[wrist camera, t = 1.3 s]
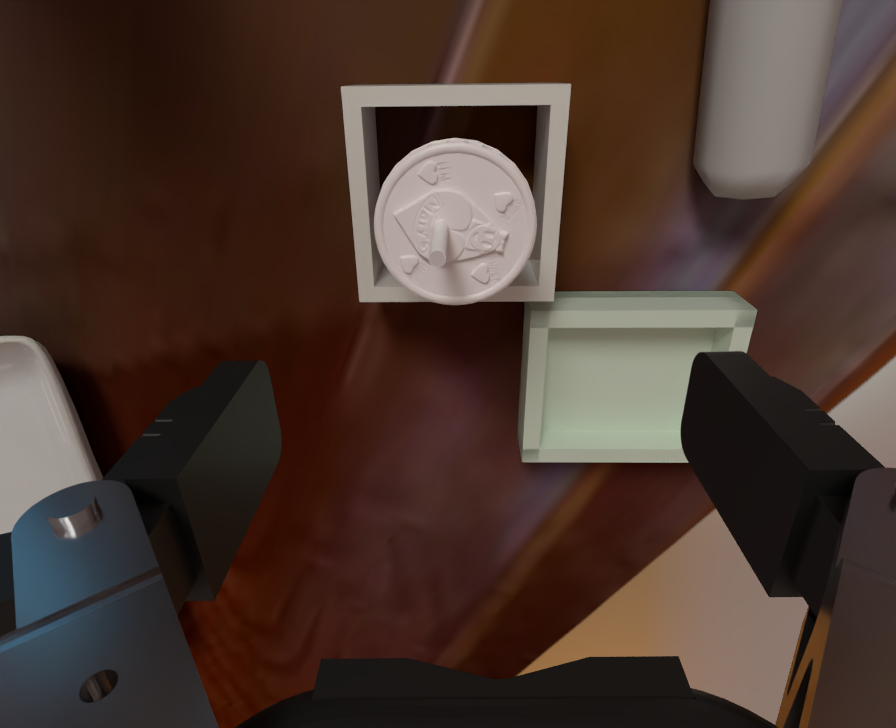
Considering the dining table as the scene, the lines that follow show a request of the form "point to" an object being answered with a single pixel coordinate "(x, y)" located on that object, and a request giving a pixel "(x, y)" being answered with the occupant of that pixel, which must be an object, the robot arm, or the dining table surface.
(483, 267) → the smoothie
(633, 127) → the dining table surface
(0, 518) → the square plate
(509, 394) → the dining table surface
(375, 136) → the hollow square frame
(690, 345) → the tray
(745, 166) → the tube
